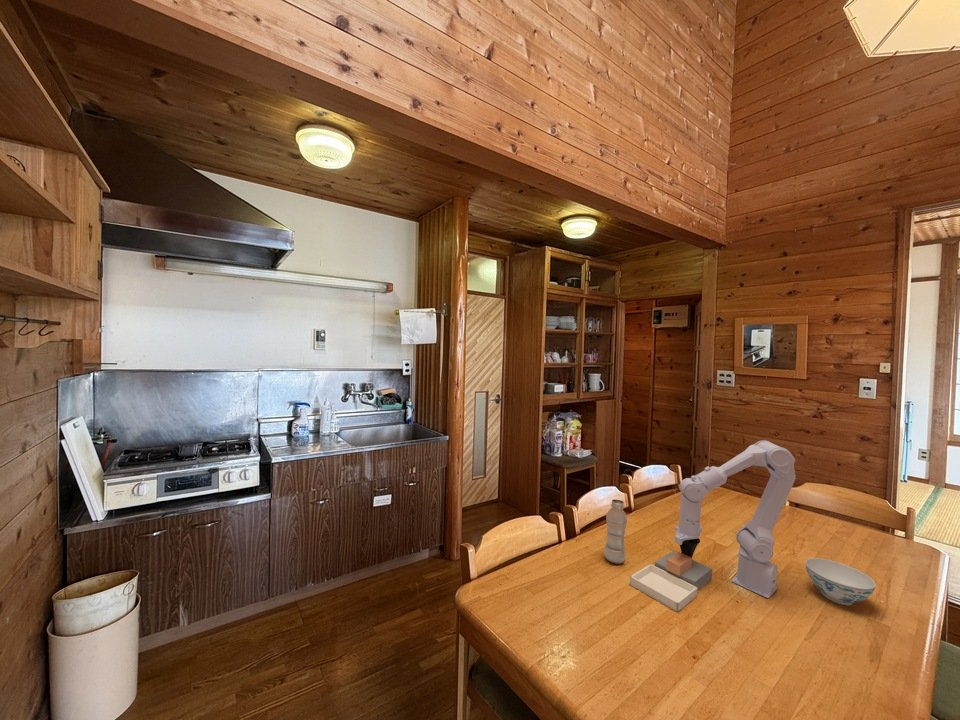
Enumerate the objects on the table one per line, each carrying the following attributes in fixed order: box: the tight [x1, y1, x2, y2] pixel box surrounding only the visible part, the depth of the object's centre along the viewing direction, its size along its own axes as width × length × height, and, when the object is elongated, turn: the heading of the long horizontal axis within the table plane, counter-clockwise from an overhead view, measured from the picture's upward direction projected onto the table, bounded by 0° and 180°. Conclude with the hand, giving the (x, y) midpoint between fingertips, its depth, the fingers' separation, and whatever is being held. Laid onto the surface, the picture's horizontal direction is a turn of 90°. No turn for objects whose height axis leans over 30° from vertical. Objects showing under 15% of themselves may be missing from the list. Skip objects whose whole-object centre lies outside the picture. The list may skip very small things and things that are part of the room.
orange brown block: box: [673, 551, 693, 571], centre depth 117 cm, size 4×4×3 cm
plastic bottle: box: [603, 499, 628, 565], centre depth 124 cm, size 6×7×20 cm
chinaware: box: [804, 557, 877, 606], centre depth 111 cm, size 15×15×8 cm
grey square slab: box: [654, 550, 713, 591], centre depth 118 cm, size 12×12×4 cm
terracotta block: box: [666, 556, 686, 576], centre depth 115 cm, size 4×4×3 cm
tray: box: [629, 563, 699, 613], centre depth 110 cm, size 14×12×2 cm
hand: (686, 559), depth 119 cm, fingers closed
